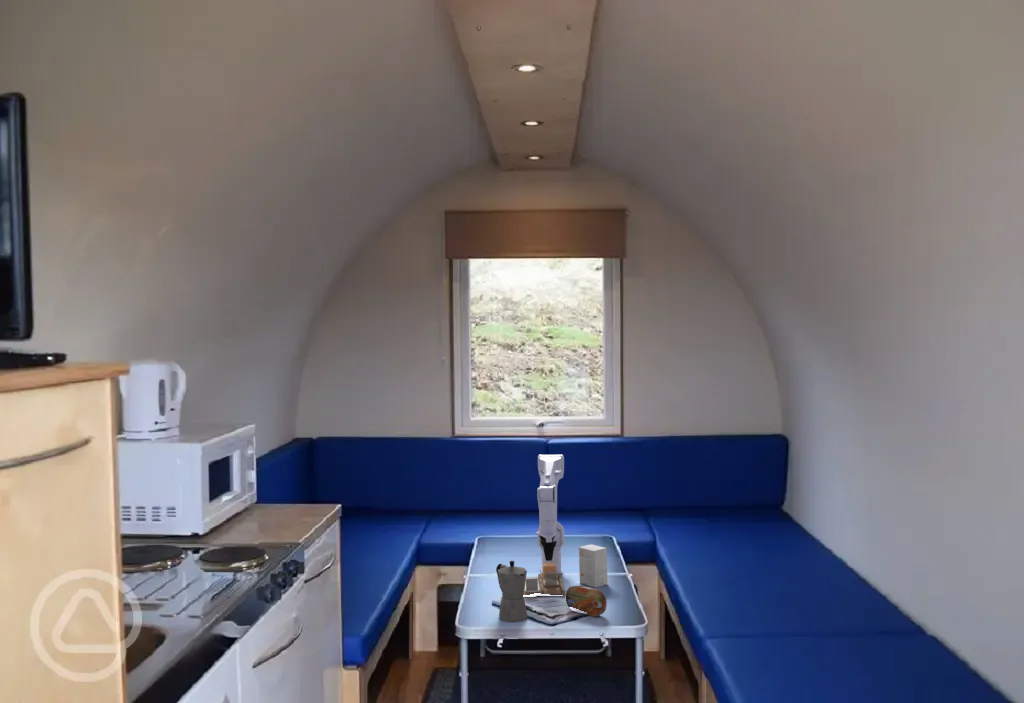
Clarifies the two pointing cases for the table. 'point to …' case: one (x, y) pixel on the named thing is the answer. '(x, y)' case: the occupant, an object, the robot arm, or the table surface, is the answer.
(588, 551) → the small box
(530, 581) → the strip
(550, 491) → the robot arm
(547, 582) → the strip
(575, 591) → the tin
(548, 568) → the cube
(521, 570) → the coffeepot
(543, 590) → the lane board
